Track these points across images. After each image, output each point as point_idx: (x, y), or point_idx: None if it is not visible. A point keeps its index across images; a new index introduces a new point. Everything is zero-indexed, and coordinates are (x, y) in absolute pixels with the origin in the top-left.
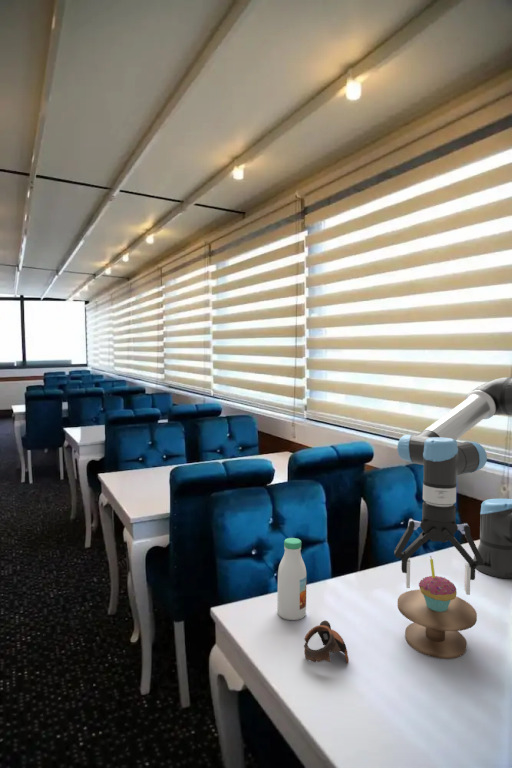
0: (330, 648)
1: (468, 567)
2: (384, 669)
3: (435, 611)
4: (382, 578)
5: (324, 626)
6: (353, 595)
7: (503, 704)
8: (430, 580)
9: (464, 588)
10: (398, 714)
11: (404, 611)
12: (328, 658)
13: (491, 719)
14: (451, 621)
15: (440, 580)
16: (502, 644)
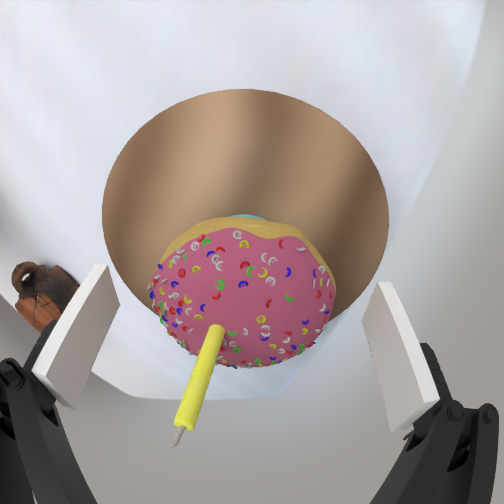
0: None
1: (398, 430)
2: (138, 302)
3: None
4: None
5: (26, 319)
6: (44, 19)
7: (320, 343)
8: (197, 347)
9: (378, 285)
10: (172, 367)
11: (134, 292)
12: None
13: (289, 364)
14: None
15: (250, 353)
16: (418, 181)
